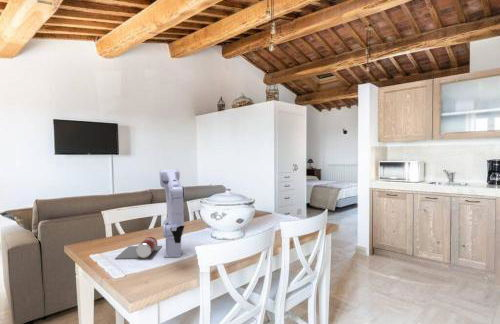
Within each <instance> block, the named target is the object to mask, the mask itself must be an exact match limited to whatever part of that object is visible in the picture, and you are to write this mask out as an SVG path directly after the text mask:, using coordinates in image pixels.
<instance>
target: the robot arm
mask: <svg viewBox="0 0 500 324" xmlns="http://www.w3.org/2000/svg"><path fill="white" fill-rule="evenodd" d="M180 173H181V172H180V169H178V168H177V169H160V170H159V183H160V187H162V188H163V189H164V192H165V202H166V204H165V205H166V213H167V217H166V219H165V220H163V221H162V237H163V238H165V253H164V255H163V258H179V257H181V256H182V254H183V252H184V249H182V236H183V235H184V234H185V233H184V229H185V219H184V218H185V216H184V215H185V214H184V209H185V208H184V207H185V206H184V199H185V195H186V193H185V192H186V191H185V187H184V185H181V182H180V178H181V177H180V175H181V174H180Z"/></svg>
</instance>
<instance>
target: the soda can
mask: <svg viewBox="0 0 500 324" xmlns="http://www.w3.org/2000/svg"><path fill="white" fill-rule="evenodd" d="M137 246H138V247H137V249H136V253H137V255H138V256H139V257H141V258H147V257H148V256H150V254H151V253H152V252H153V251H154V250H155V249H156V247H157V246H158V241H157V239H156V238H155V237H153V236H148V237H145V239H143V241H142V242H141V243H139V244H138V245H137Z"/></svg>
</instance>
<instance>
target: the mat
mask: <svg viewBox="0 0 500 324" xmlns="http://www.w3.org/2000/svg"><path fill="white" fill-rule="evenodd" d="M137 247H138V245H134V246H133V245H131V246H130V245H129V246H127V247H126V248H125V249H124V250H122V251H121V252H120V253H119V254H118V255H117V256H116V257H115V258H114V260H143V259H144V260H146V259H147V260H151V259H153V258H154V257H155V256H156V255H157V253H159V251H161V248H163V245H157V247H156V249H155V250H154V251H153V252H152V253H151V254H150V256H148V257H147V258H141V257H139V256H138V255H137V253H136V249H137Z"/></svg>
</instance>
